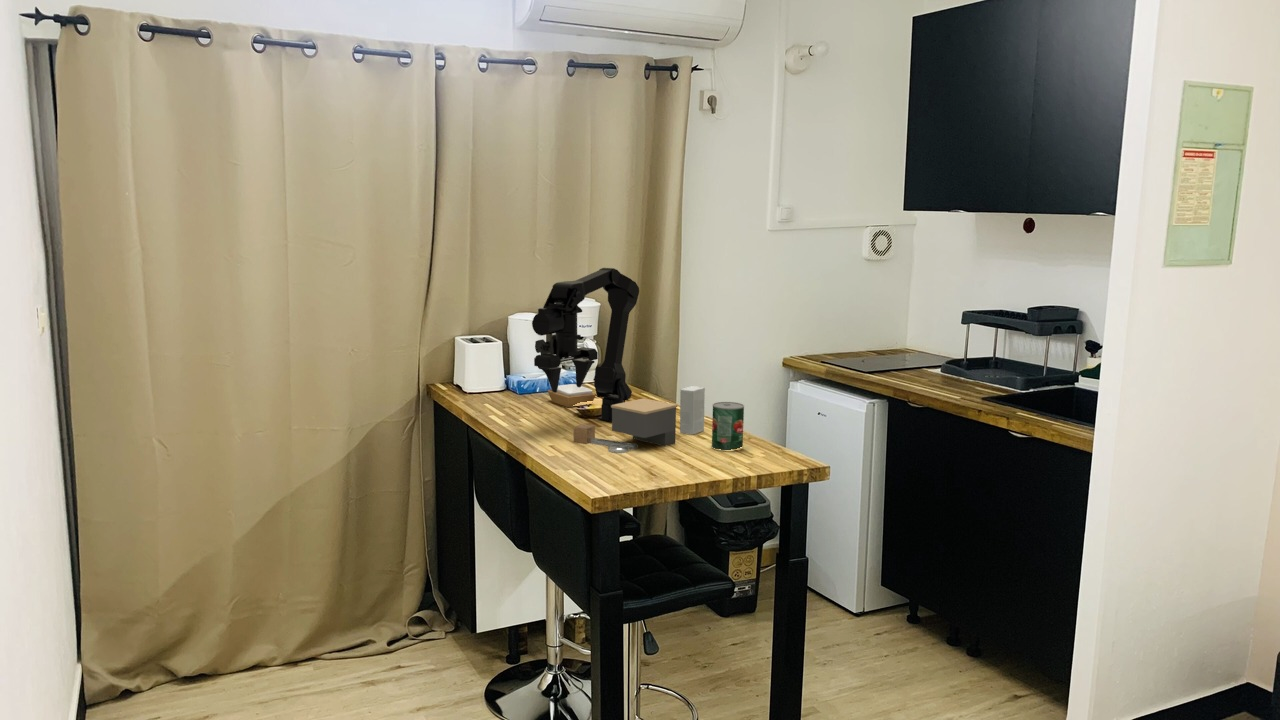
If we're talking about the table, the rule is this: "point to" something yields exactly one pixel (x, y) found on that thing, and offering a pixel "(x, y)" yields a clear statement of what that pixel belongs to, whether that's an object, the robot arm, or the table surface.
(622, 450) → the token
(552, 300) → the robot arm
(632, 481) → the table surface
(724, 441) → the canned tomato
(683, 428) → the skincare box
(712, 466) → the table surface
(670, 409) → the cabinet
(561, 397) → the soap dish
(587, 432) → the brown block with rod
